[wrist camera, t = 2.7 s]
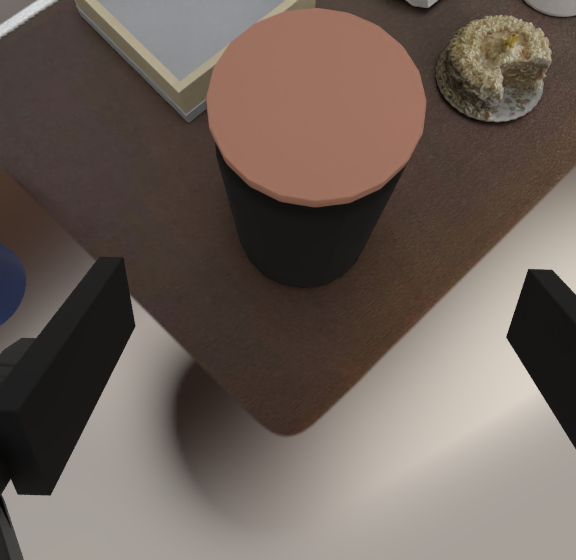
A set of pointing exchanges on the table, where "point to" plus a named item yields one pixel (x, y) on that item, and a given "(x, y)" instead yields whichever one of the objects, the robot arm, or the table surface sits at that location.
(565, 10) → the mug
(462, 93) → the cake
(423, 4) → the crystal
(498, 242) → the table surface
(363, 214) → the coffee jar
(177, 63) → the shallow square crate
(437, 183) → the table surface
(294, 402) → the table surface
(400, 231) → the table surface
